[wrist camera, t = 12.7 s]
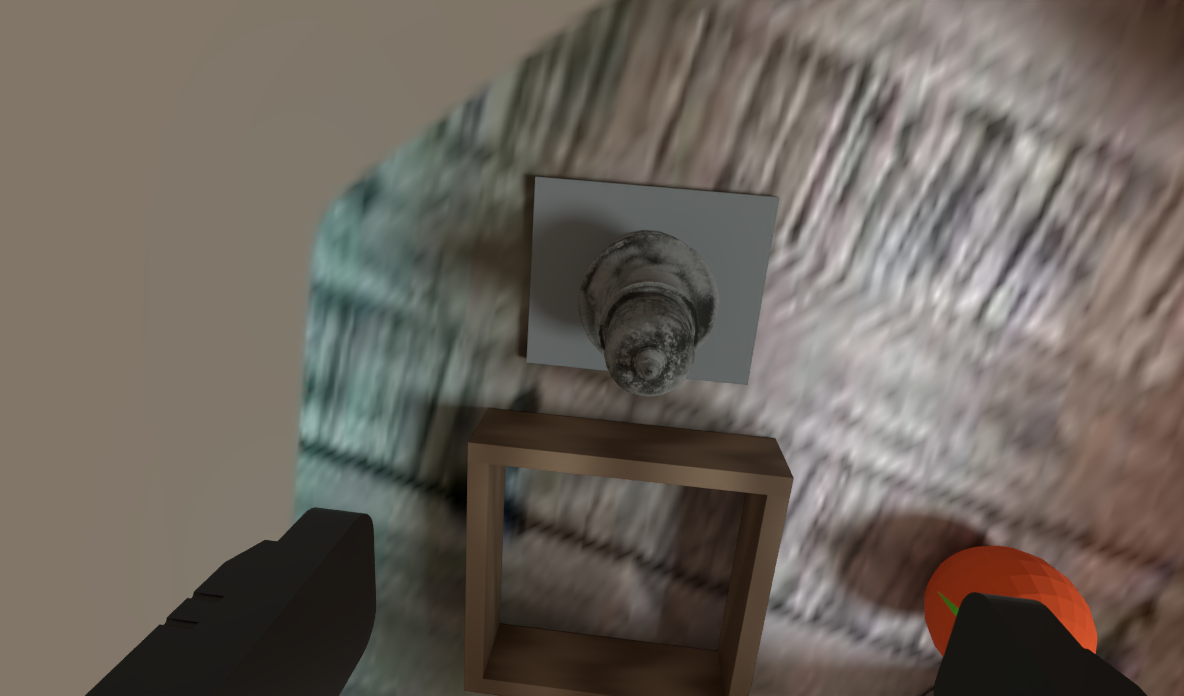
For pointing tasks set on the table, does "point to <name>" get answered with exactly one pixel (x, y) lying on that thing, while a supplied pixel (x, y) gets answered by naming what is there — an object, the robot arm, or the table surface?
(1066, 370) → the table surface
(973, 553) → the clementine
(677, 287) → the stone chess piece
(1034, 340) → the table surface
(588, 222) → the mat
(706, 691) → the walnut crate
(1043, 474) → the table surface
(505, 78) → the table surface
